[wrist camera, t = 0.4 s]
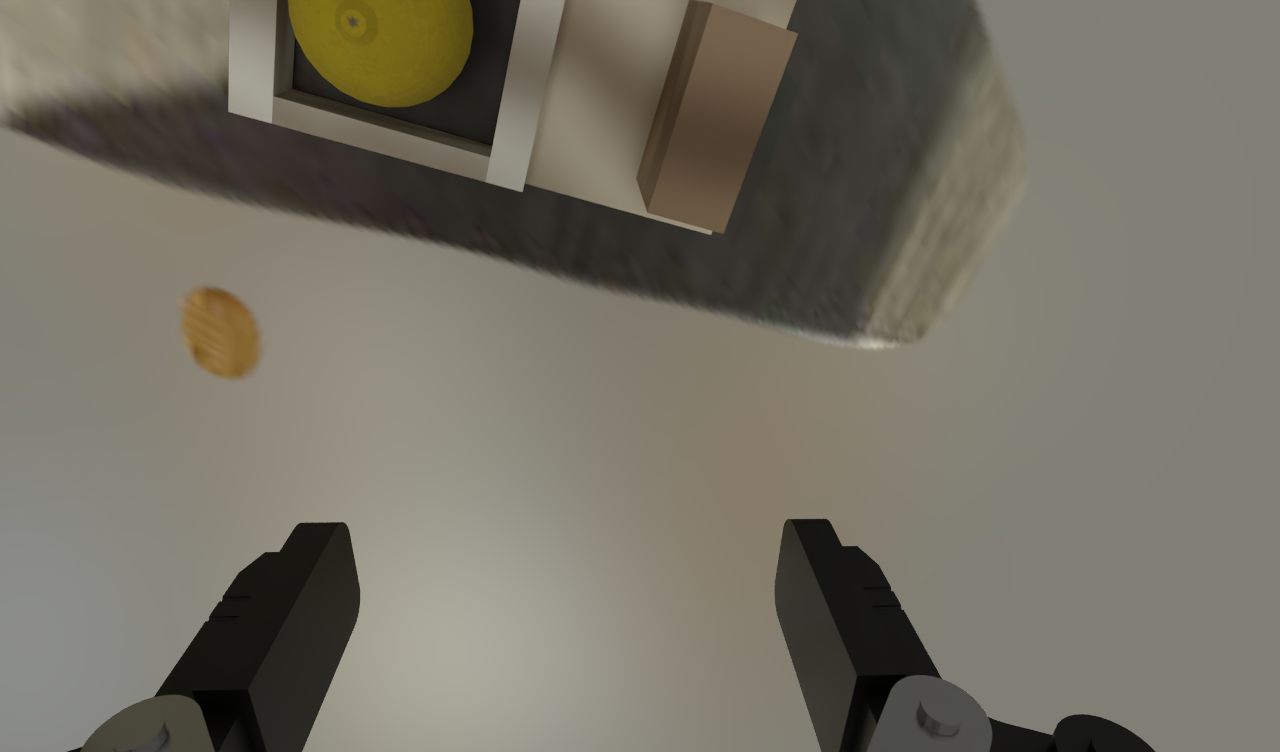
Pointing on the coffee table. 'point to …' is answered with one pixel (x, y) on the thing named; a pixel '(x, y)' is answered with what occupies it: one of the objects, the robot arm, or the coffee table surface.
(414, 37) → the lemon
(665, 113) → the white open frame tray
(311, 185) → the coffee table surface
